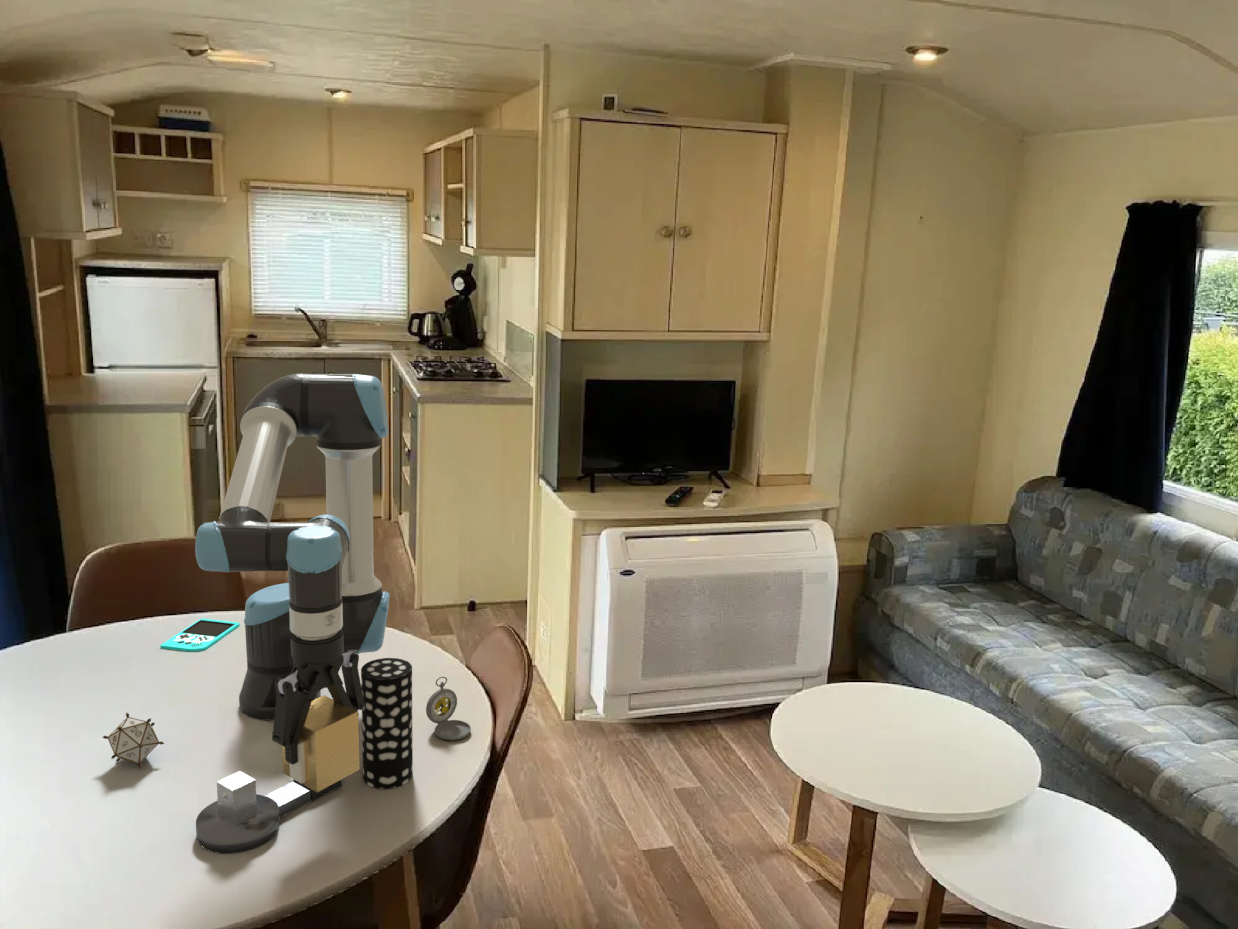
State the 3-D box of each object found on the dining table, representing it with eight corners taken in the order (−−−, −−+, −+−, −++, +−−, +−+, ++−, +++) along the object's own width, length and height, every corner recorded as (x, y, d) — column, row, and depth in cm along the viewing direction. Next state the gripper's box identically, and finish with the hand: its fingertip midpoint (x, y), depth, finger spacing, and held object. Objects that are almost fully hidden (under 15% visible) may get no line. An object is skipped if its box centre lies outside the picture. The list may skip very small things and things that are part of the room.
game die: (149, 777, 174) (183, 734, 173) (111, 784, 166) (147, 739, 165) (120, 741, 177) (154, 698, 176) (82, 746, 169) (117, 702, 168)
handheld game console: (158, 650, 216) (158, 644, 216) (200, 622, 232) (200, 617, 231) (201, 655, 215) (200, 649, 215) (240, 627, 230) (240, 621, 230)
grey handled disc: (309, 769, 172) (307, 724, 170) (355, 793, 165) (354, 747, 163) (180, 833, 152) (177, 783, 150) (227, 864, 146) (224, 812, 144)
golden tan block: (283, 773, 152) (280, 714, 149) (325, 752, 158) (323, 695, 156) (317, 792, 148) (315, 732, 145) (359, 769, 154) (358, 711, 151)
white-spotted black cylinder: (388, 794, 165) (386, 684, 160) (352, 778, 169) (350, 670, 165) (422, 773, 172) (422, 666, 167) (387, 758, 176) (386, 653, 172)
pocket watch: (463, 744, 182) (463, 694, 180) (420, 738, 184) (419, 688, 181) (478, 723, 190) (478, 675, 188) (436, 717, 191) (436, 669, 189)
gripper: (272, 661, 137) (279, 807, 142) (387, 616, 153) (389, 747, 159) (239, 646, 141) (247, 788, 147) (355, 603, 157) (358, 732, 163)
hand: (321, 767), depth 153 cm, fingers closed on golden tan block, 8 cm apart
